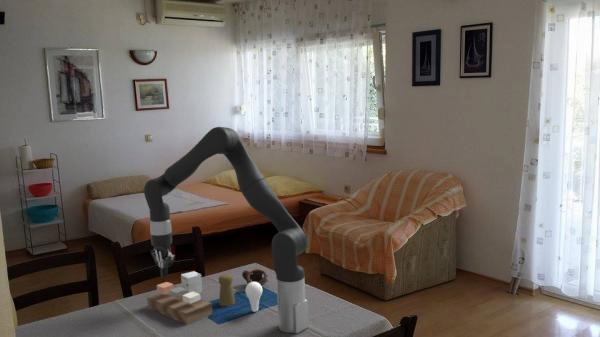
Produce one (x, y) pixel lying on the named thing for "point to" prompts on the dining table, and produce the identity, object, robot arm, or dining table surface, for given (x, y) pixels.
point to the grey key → (178, 292)
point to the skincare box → (192, 282)
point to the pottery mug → (255, 276)
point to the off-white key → (191, 297)
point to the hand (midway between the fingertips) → (164, 276)
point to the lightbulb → (254, 294)
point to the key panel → (179, 307)
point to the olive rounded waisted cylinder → (226, 290)
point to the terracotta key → (165, 287)
